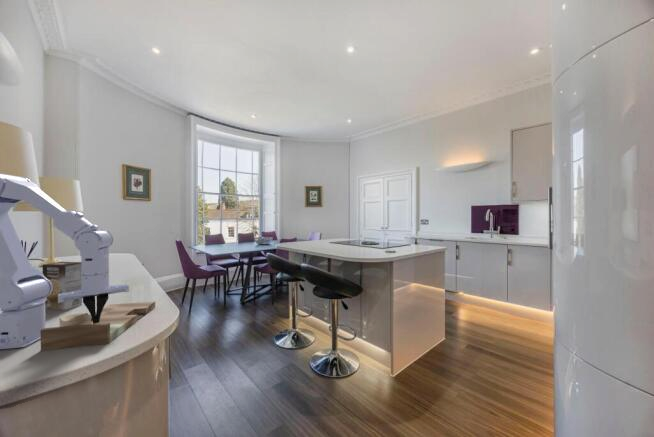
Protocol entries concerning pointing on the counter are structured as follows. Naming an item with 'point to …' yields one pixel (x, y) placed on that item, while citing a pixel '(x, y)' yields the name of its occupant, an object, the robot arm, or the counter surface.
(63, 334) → the board
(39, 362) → the counter surface
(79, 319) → the birch block
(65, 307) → the coffee box
